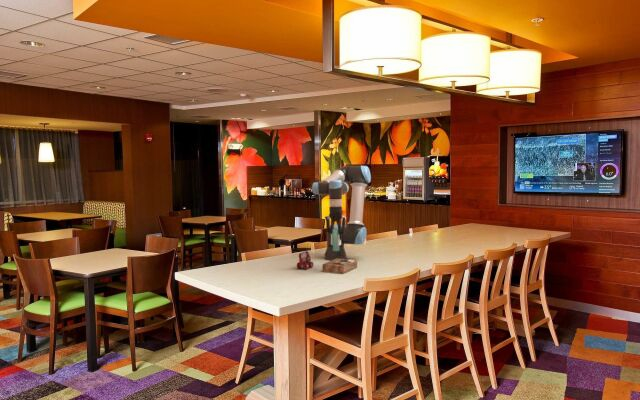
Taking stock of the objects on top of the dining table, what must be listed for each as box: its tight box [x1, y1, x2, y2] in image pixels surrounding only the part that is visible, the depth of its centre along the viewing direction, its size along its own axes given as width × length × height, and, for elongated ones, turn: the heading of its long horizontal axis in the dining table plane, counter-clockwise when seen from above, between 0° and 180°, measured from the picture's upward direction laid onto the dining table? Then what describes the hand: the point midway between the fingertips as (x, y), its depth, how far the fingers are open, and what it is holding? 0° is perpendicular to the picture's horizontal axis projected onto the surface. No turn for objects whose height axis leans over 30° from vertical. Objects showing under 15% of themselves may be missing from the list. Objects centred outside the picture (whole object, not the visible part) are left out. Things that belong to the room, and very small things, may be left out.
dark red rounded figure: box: [296, 250, 314, 271], centre depth 296 cm, size 7×12×10 cm, turn 151°
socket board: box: [321, 259, 358, 275], centre depth 292 cm, size 14×20×5 cm
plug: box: [333, 229, 339, 251], centre depth 288 cm, size 4×4×13 cm
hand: (336, 244), depth 288 cm, fingers closed on plug, 4 cm apart
